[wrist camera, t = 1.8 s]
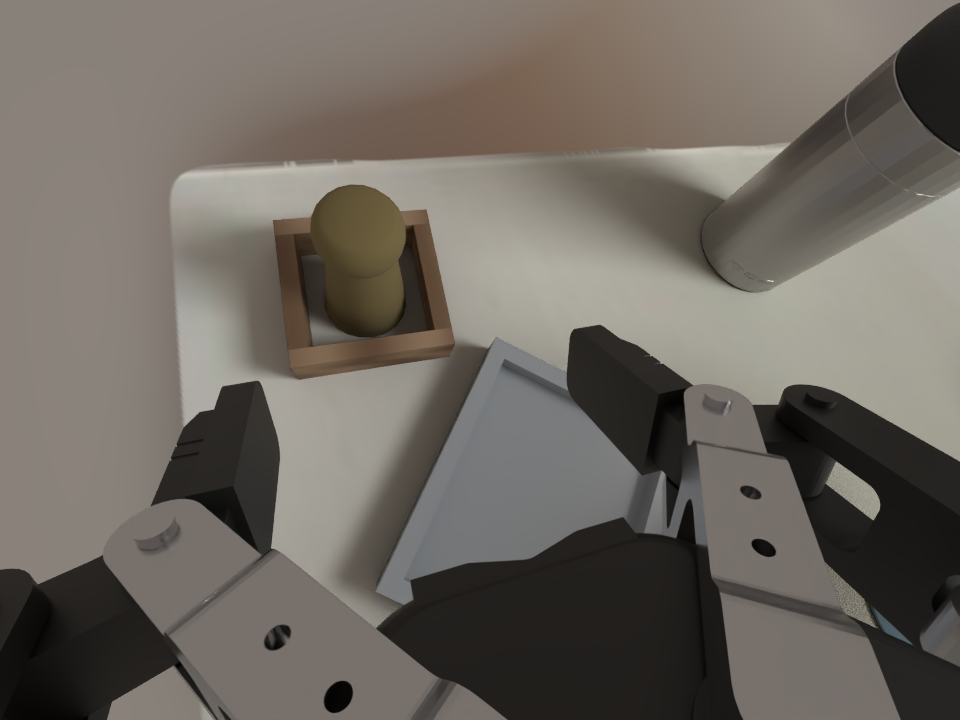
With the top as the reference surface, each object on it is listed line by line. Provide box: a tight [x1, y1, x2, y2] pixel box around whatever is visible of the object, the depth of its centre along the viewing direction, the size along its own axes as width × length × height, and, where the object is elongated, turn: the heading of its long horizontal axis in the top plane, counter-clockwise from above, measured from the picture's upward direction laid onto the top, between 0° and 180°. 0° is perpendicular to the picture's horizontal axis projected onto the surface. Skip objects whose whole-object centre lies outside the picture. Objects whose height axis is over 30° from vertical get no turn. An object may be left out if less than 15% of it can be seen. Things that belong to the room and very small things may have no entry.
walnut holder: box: [273, 210, 455, 379], centre depth 33 cm, size 11×11×3 cm
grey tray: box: [376, 337, 665, 605], centre depth 31 cm, size 18×16×2 cm
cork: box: [310, 185, 406, 337], centre depth 29 cm, size 6×6×11 cm
